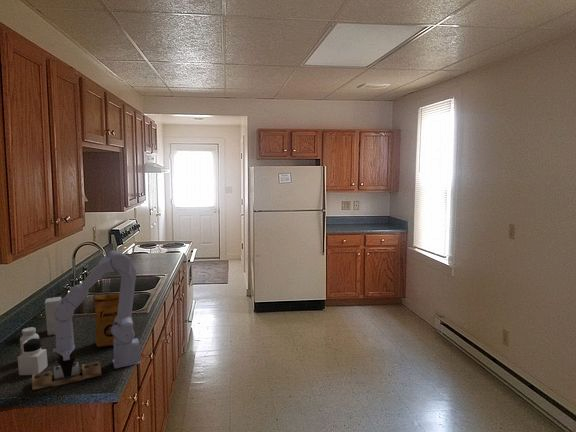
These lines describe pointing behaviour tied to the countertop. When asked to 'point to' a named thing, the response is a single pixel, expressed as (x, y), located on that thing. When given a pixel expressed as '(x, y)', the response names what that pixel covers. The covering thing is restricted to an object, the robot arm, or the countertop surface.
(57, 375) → the white box with knobs
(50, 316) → the skincare box
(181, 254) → the countertop surface
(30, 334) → the supplement bottle
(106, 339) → the coffee package
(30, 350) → the medicine bottle
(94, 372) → the wooden frame
